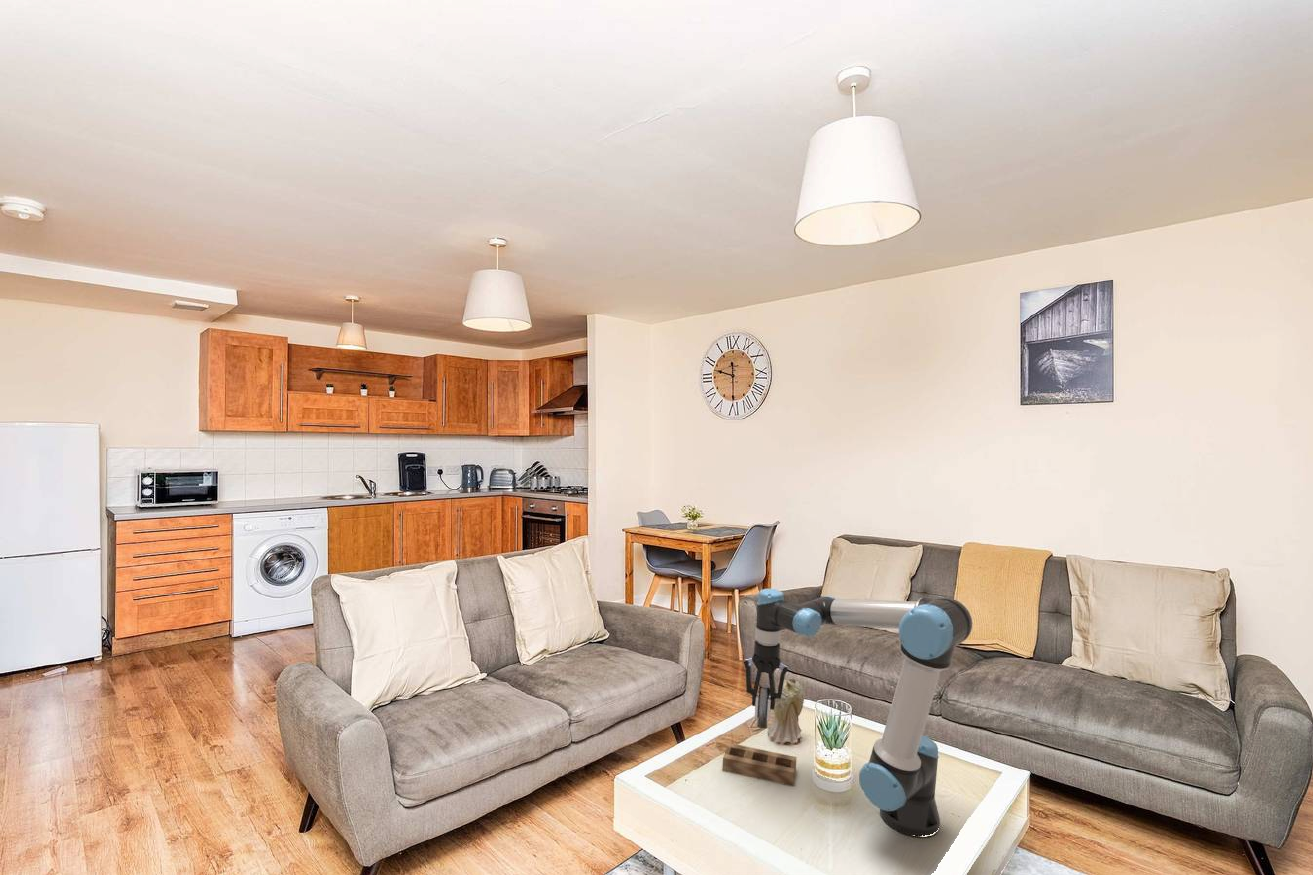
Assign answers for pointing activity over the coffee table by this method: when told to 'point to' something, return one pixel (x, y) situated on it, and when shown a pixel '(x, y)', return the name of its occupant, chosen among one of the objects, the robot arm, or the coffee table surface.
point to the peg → (763, 706)
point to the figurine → (787, 715)
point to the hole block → (759, 764)
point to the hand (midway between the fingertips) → (762, 717)
